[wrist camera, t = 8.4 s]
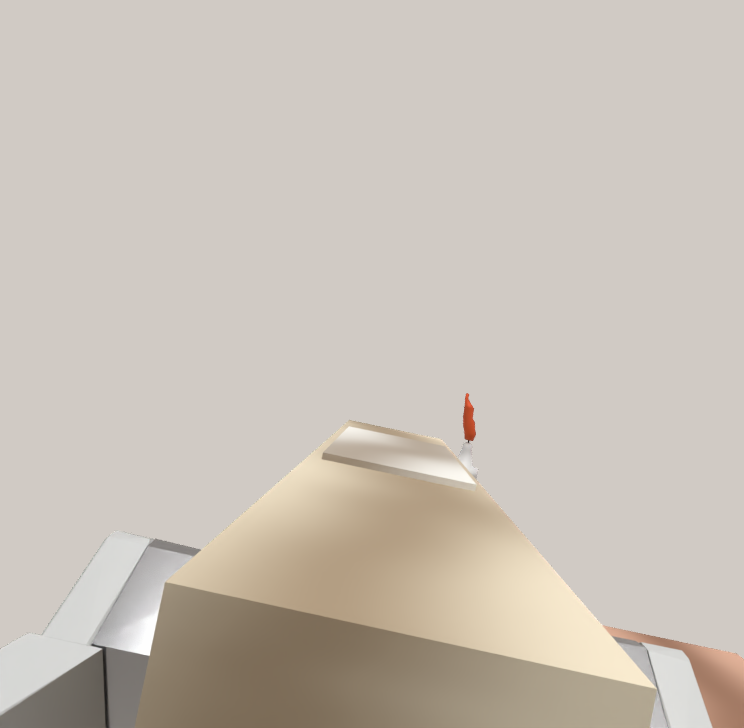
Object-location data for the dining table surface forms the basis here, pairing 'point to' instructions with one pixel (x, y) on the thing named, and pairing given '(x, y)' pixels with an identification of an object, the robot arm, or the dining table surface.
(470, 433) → the candlestick
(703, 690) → the walnut shelf
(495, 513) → the birch block
